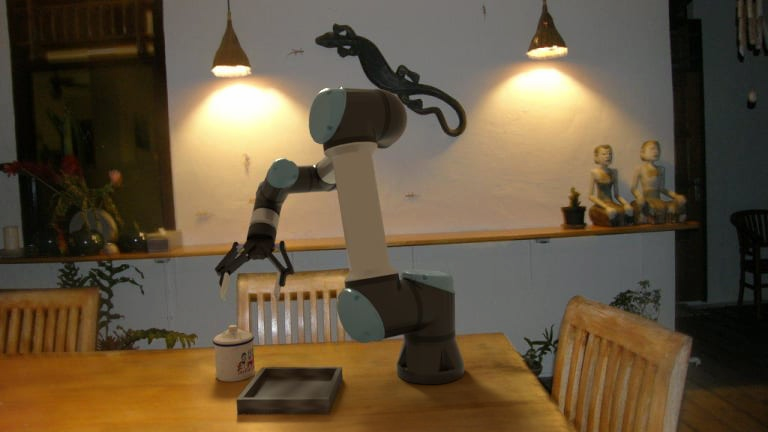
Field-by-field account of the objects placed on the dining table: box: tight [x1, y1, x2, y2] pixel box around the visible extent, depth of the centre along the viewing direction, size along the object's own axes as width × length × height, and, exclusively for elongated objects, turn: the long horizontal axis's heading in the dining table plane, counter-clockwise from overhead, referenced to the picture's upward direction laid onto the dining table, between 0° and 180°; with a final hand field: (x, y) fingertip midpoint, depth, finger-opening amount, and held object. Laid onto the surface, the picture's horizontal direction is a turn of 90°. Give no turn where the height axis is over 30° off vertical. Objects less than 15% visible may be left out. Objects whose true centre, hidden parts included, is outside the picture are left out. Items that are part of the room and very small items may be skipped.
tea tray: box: [236, 366, 344, 415], centre depth 127 cm, size 18×18×3 cm
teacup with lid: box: [212, 324, 256, 383], centre depth 141 cm, size 12×9×12 cm
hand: (249, 297), depth 151 cm, fingers open, 13 cm apart
